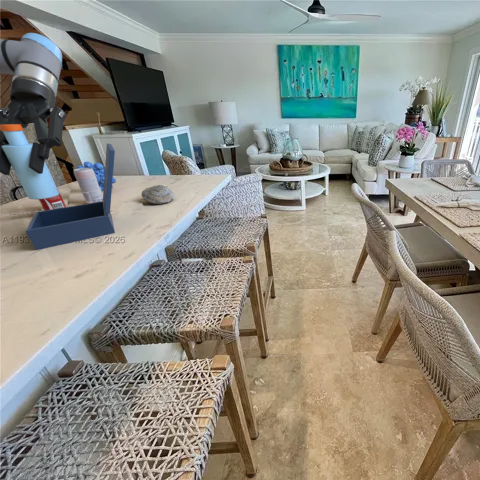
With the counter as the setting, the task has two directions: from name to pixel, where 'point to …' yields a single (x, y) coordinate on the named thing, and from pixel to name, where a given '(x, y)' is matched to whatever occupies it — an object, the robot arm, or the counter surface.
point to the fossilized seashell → (158, 194)
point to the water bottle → (27, 164)
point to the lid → (108, 177)
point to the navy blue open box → (69, 225)
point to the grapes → (97, 173)
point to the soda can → (52, 202)
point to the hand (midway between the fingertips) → (18, 170)
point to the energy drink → (88, 185)
